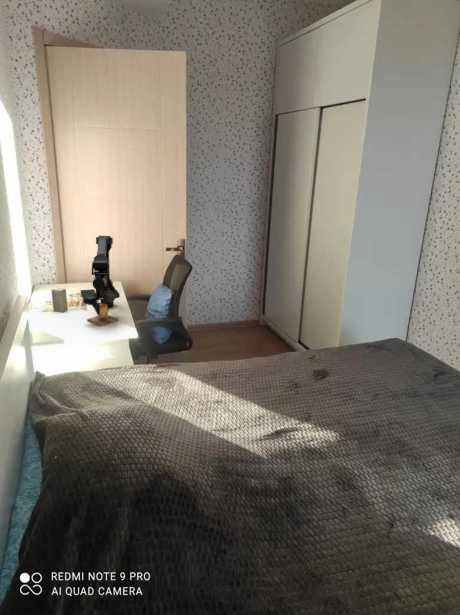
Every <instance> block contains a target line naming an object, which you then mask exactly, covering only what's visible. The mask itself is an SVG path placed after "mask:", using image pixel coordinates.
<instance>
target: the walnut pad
mask: <svg viewBox="0 0 460 615" xmlns="http://www.w3.org/2000/svg"><path fill="white" fill-rule="evenodd" d="M86 320H87V322H89V323H92V324H94V325H97V326H99V327H104V326H106V325H110V324H113V323H115V322H119V318H117V317H115V316H111V315H109V314H108V317H106V318H99V317H98V315H96V316H93V317H90V318H87V319H86ZM103 325H104V326H103Z"/></svg>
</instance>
